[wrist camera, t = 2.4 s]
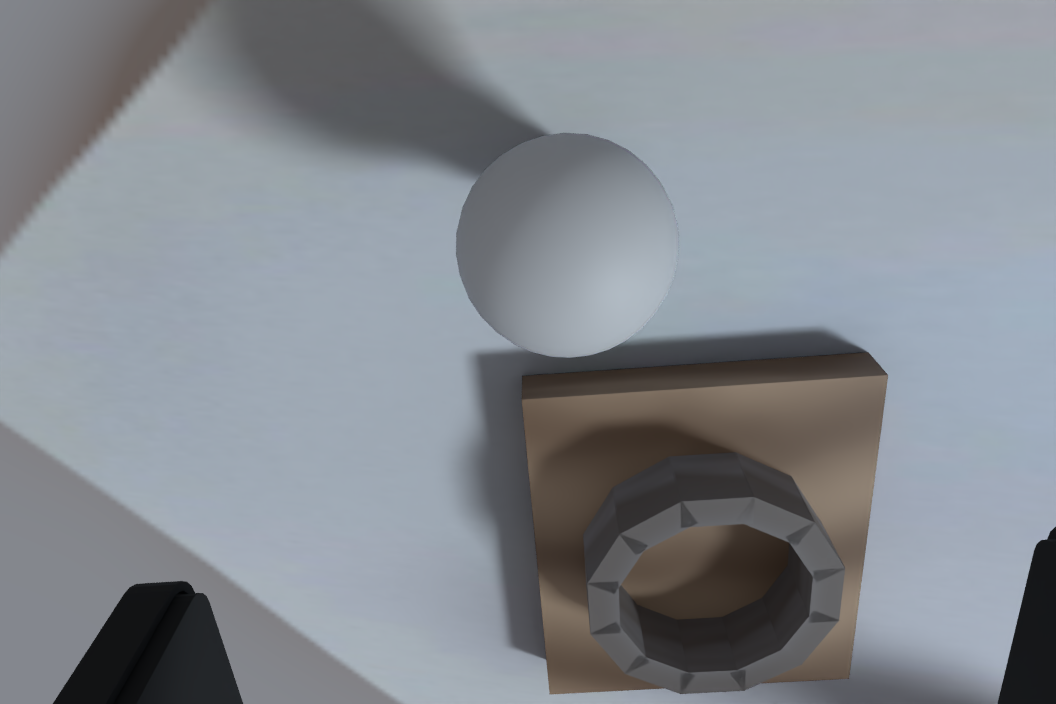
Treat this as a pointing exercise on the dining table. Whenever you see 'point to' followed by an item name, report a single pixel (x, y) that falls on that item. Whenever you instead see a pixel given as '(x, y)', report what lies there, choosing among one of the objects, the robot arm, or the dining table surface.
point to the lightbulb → (567, 245)
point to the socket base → (702, 520)
